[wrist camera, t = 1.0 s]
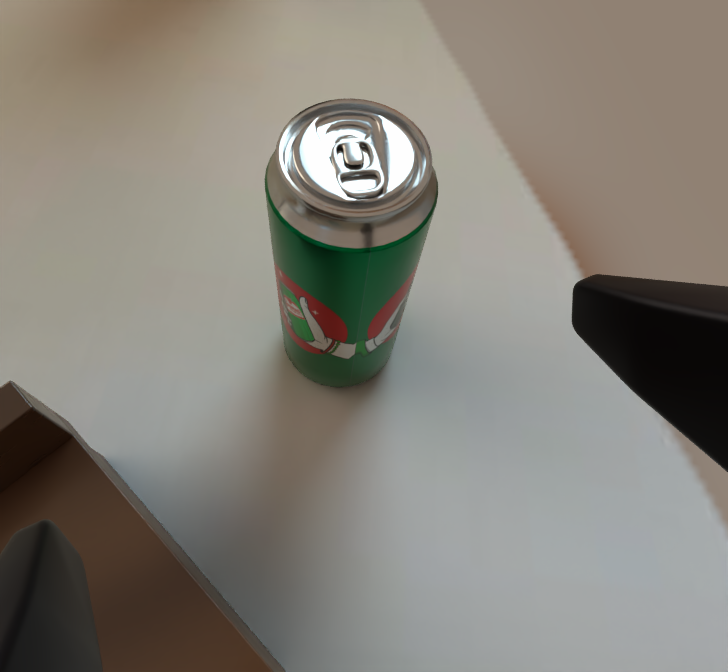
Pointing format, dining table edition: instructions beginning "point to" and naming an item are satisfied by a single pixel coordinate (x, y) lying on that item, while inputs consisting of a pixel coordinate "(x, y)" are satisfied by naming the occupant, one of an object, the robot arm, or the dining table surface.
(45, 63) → the dining table surface
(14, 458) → the low shelf
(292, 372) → the dining table surface
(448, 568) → the dining table surface
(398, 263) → the soda can
